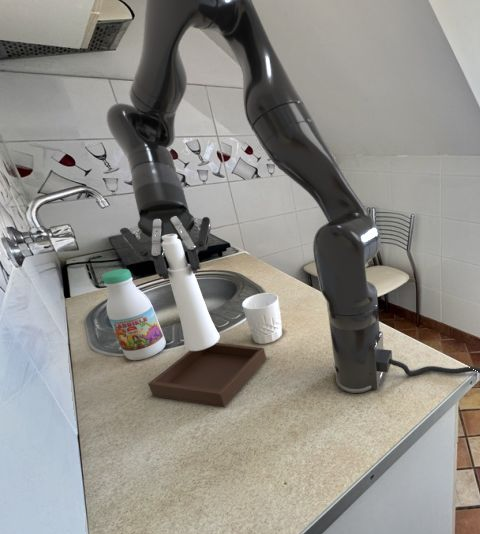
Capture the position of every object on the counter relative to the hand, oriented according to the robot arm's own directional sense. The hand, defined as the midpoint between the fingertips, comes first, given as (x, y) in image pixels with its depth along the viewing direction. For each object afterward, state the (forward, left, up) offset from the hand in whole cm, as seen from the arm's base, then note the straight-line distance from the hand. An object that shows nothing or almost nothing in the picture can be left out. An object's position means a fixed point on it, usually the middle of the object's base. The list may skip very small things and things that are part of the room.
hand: (180, 273), depth 56 cm
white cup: (-2, -16, -24) cm, 29 cm away
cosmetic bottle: (+1, -1, -16) cm, 16 cm away
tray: (+1, -1, -24) cm, 24 cm away
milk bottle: (+23, -6, -24) cm, 34 cm away
